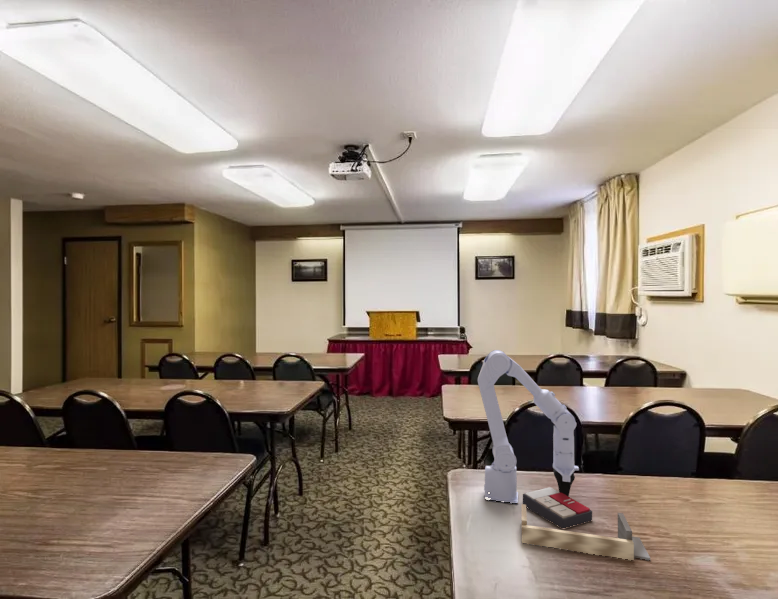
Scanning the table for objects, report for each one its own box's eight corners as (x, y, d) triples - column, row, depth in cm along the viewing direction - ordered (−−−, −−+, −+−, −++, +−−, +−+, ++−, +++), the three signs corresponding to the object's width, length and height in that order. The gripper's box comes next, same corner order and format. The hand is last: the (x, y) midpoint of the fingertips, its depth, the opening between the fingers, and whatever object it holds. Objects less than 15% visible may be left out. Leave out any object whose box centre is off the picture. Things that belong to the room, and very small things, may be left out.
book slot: (521, 543, 102) (521, 518, 102) (521, 522, 112) (521, 500, 112) (652, 563, 94) (651, 536, 94) (639, 539, 104) (639, 515, 104)
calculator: (563, 517, 109) (522, 491, 122) (562, 533, 109) (521, 505, 122) (593, 508, 113) (550, 484, 127) (592, 524, 113) (549, 498, 127)
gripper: (581, 460, 117) (582, 510, 116) (575, 444, 130) (575, 488, 130) (554, 457, 119) (555, 506, 118) (550, 442, 132) (551, 485, 132)
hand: (564, 497), depth 124 cm, fingers closed
